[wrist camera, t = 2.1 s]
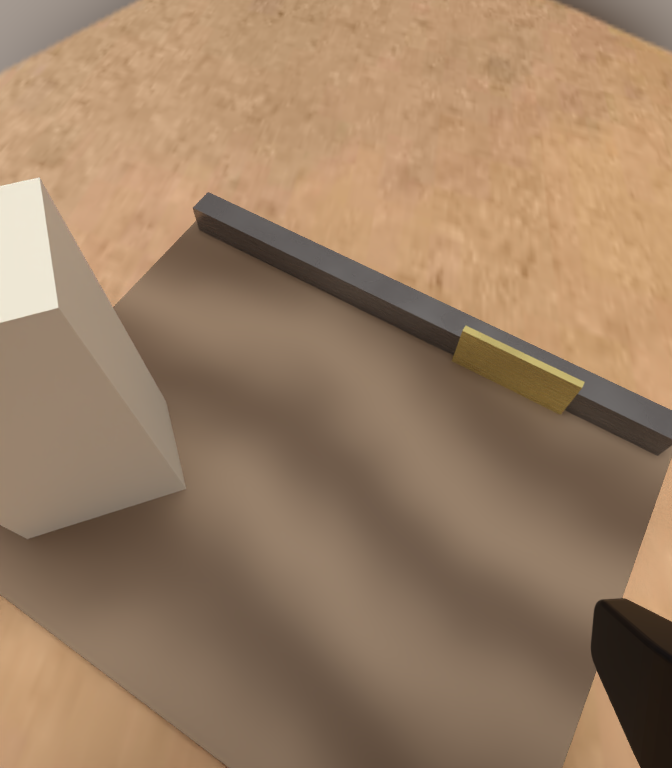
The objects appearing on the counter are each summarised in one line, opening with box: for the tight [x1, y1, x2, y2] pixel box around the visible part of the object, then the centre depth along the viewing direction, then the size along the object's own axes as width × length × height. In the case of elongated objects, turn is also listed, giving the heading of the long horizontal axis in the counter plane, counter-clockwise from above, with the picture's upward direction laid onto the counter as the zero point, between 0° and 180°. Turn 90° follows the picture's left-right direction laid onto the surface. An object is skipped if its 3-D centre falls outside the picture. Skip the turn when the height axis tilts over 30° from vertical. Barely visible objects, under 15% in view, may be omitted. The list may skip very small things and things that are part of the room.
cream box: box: [0, 177, 186, 539], centre depth 18 cm, size 4×6×12 cm
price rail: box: [193, 192, 672, 456], centre depth 25 cm, size 2×23×2 cm, turn 59°
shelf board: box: [0, 221, 672, 768], centre depth 24 cm, size 20×24×1 cm
